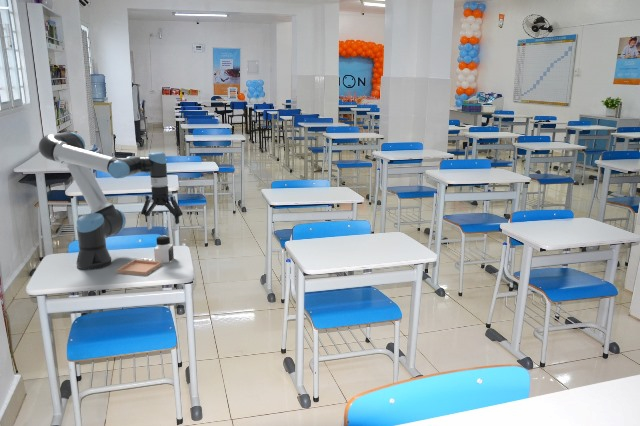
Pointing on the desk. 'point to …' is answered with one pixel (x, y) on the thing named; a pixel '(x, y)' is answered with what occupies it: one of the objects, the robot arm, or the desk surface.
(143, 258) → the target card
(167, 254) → the medicine bottle
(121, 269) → the tray
